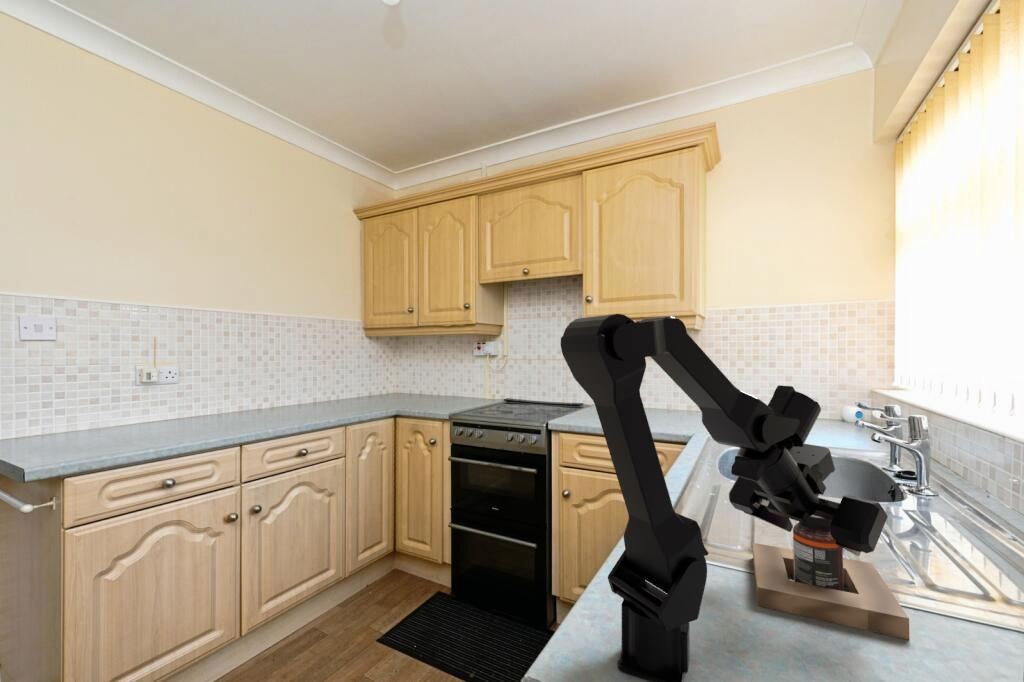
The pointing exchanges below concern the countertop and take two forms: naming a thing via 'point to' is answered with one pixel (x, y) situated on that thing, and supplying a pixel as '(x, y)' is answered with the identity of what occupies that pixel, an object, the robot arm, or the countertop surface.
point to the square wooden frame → (829, 594)
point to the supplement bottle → (817, 554)
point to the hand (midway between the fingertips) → (822, 540)
